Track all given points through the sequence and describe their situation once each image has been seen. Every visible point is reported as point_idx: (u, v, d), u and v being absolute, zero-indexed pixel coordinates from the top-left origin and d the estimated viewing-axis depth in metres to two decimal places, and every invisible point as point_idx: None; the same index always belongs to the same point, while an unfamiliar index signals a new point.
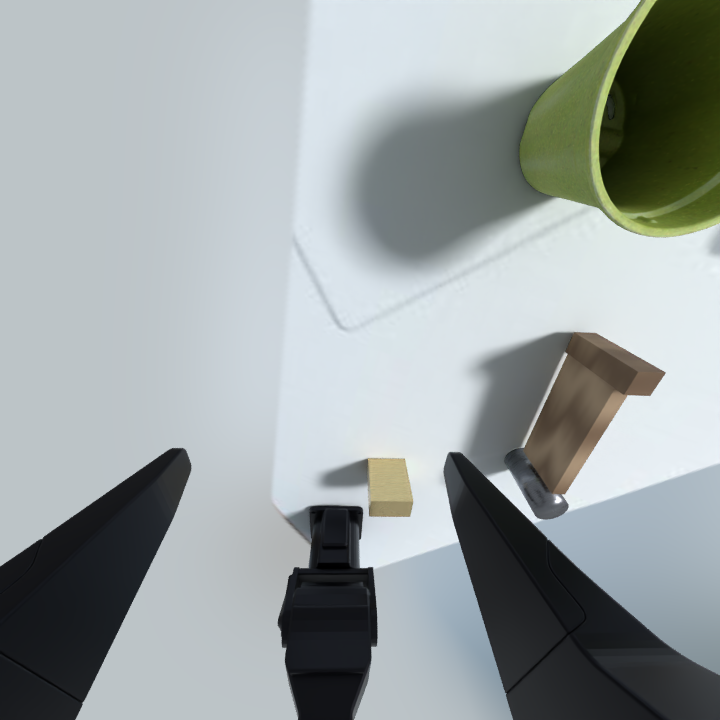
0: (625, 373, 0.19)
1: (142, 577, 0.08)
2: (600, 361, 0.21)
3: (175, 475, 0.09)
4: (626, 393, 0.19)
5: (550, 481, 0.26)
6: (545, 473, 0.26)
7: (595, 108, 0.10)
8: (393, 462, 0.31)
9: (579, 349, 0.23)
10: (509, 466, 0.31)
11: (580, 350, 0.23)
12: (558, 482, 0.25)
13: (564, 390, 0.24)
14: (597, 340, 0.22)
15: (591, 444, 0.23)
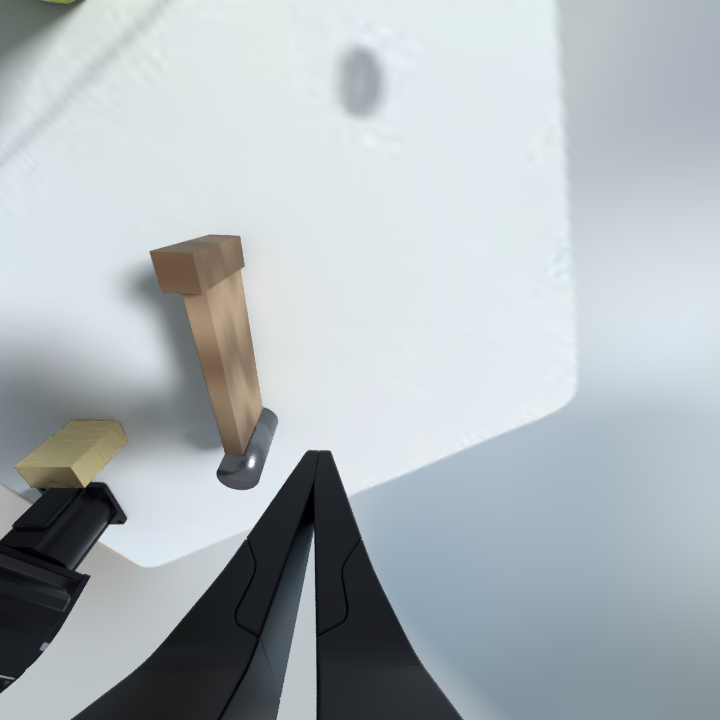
0: None
1: None
2: None
3: None
4: (163, 289, 0.13)
5: None
6: None
7: None
8: (99, 424, 0.25)
9: None
10: None
11: None
12: (222, 438, 0.19)
13: None
14: (214, 238, 0.16)
15: (220, 381, 0.17)
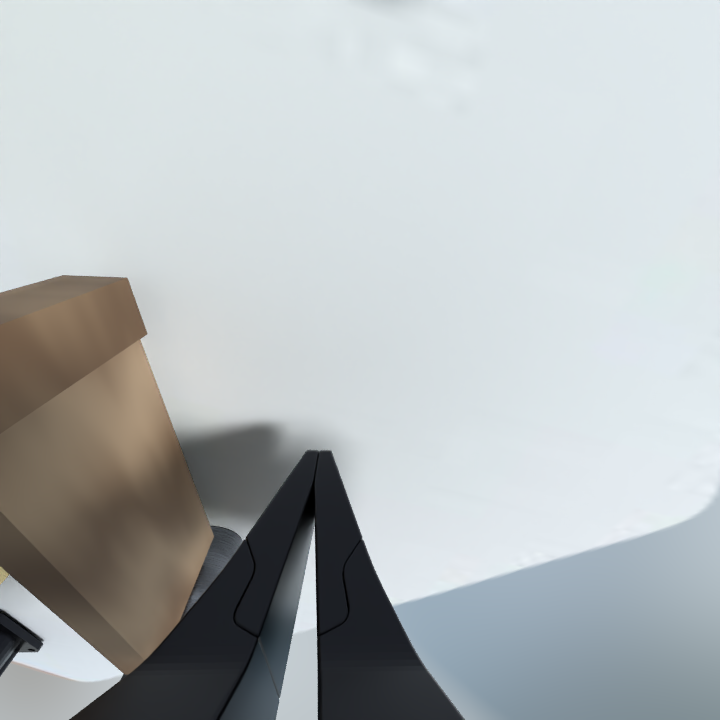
0: None
1: (303, 576, 0.08)
2: None
3: None
4: None
5: None
6: None
7: None
8: None
9: None
10: None
11: None
12: None
13: None
14: (47, 291, 0.07)
15: (73, 601, 0.08)
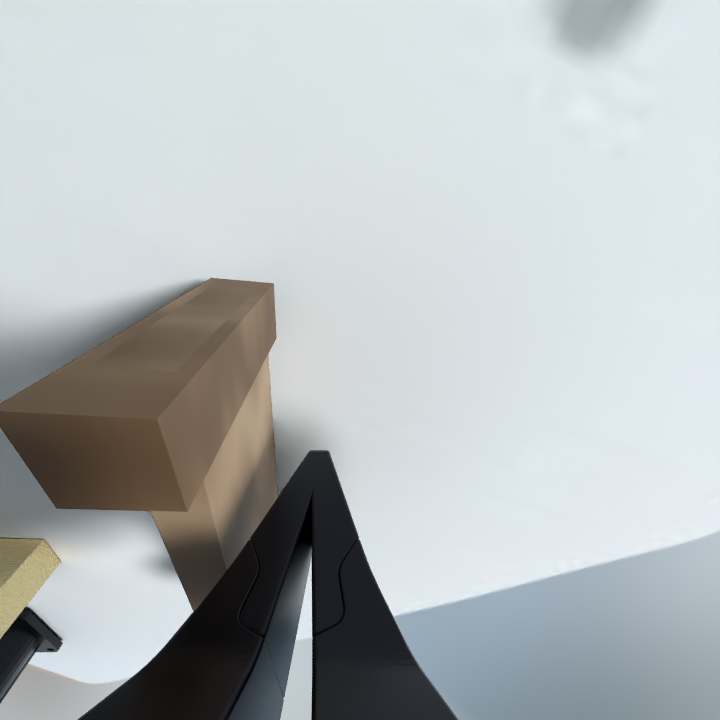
0: None
1: (307, 576, 0.08)
2: None
3: None
4: (58, 503, 0.04)
5: None
6: None
7: None
8: (9, 547, 0.15)
9: None
10: None
11: None
12: None
13: None
14: (221, 295, 0.07)
15: None
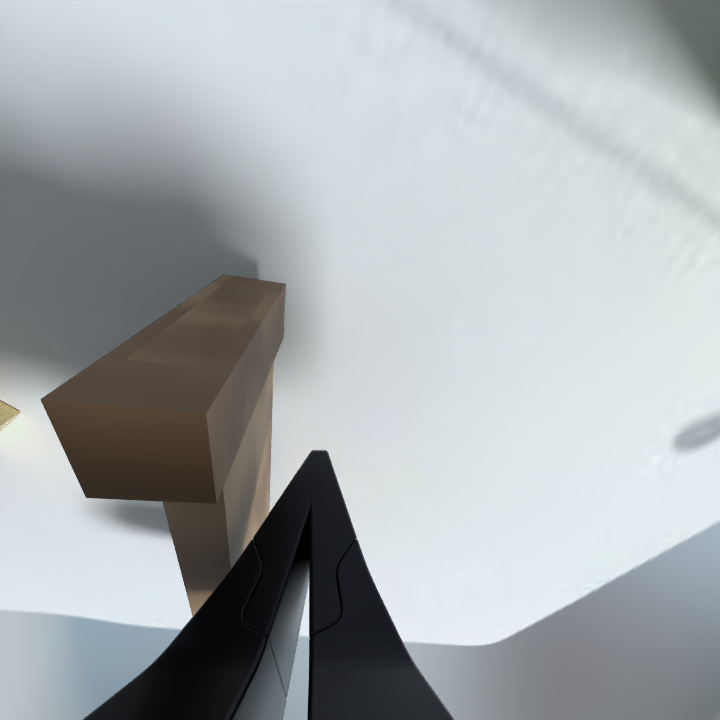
0: None
1: (309, 576, 0.08)
2: None
3: None
4: (89, 492, 0.04)
5: None
6: None
7: None
8: None
9: None
10: None
11: None
12: None
13: None
14: (238, 293, 0.07)
15: None
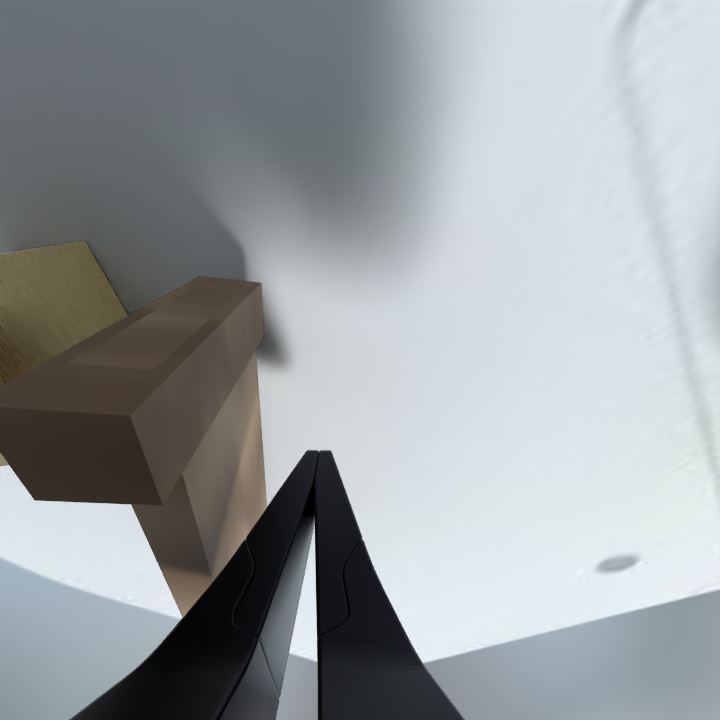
0: None
1: (303, 576, 0.08)
2: None
3: None
4: (36, 495, 0.04)
5: None
6: None
7: None
8: None
9: None
10: None
11: None
12: None
13: None
14: (207, 294, 0.07)
15: (202, 593, 0.08)
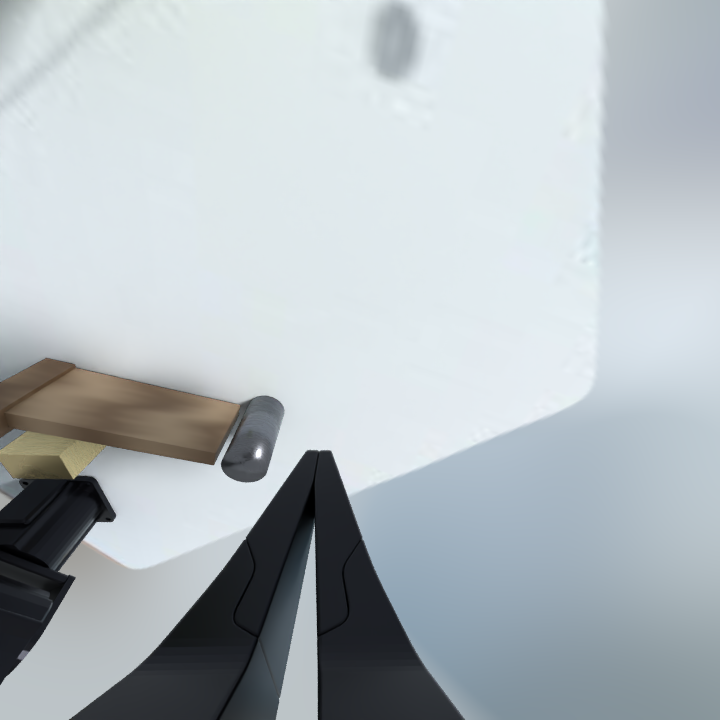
0: None
1: (303, 576, 0.08)
2: None
3: None
4: None
5: None
6: None
7: None
8: None
9: None
10: None
11: None
12: (190, 459, 0.19)
13: None
14: None
15: (111, 437, 0.18)
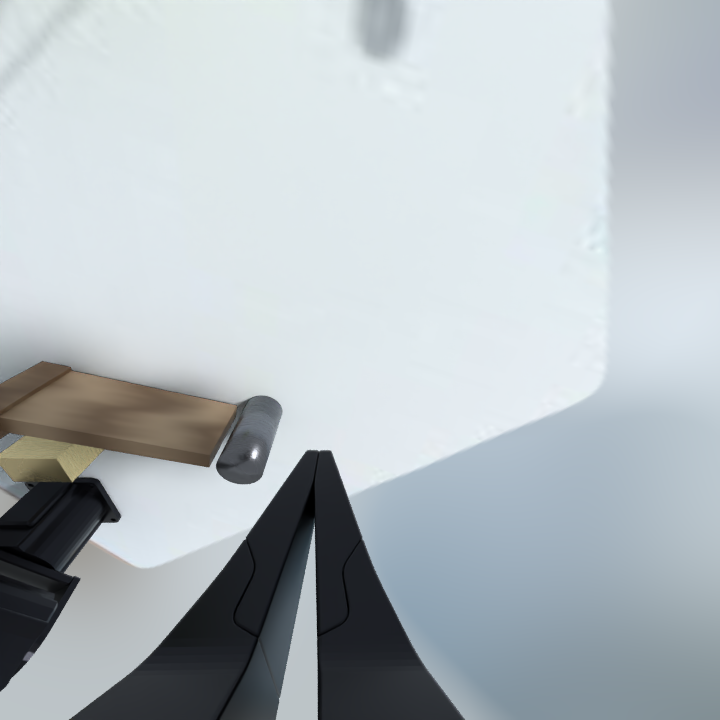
0: None
1: (303, 576, 0.08)
2: None
3: None
4: None
5: None
6: None
7: None
8: None
9: None
10: None
11: None
12: (186, 461, 0.19)
13: None
14: None
15: (105, 440, 0.18)
